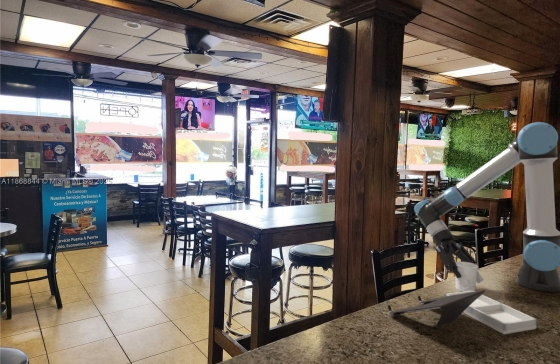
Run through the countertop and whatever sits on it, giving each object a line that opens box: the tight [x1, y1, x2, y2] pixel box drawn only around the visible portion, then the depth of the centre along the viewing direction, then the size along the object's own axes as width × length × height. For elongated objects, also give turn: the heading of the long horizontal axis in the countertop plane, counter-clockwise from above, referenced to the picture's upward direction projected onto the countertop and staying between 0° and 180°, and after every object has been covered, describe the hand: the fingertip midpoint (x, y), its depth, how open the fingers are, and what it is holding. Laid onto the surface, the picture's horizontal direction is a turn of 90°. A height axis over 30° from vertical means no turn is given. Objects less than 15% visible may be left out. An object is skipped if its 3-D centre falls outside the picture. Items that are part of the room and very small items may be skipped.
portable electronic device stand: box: [387, 289, 487, 330], centre depth 115 cm, size 23×23×9 cm
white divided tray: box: [443, 290, 538, 335], centre depth 120 cm, size 13×24×3 cm, turn 17°
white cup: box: [454, 261, 479, 292], centre depth 142 cm, size 8×8×10 cm
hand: (473, 283), depth 139 cm, fingers closed on white cup, 8 cm apart
